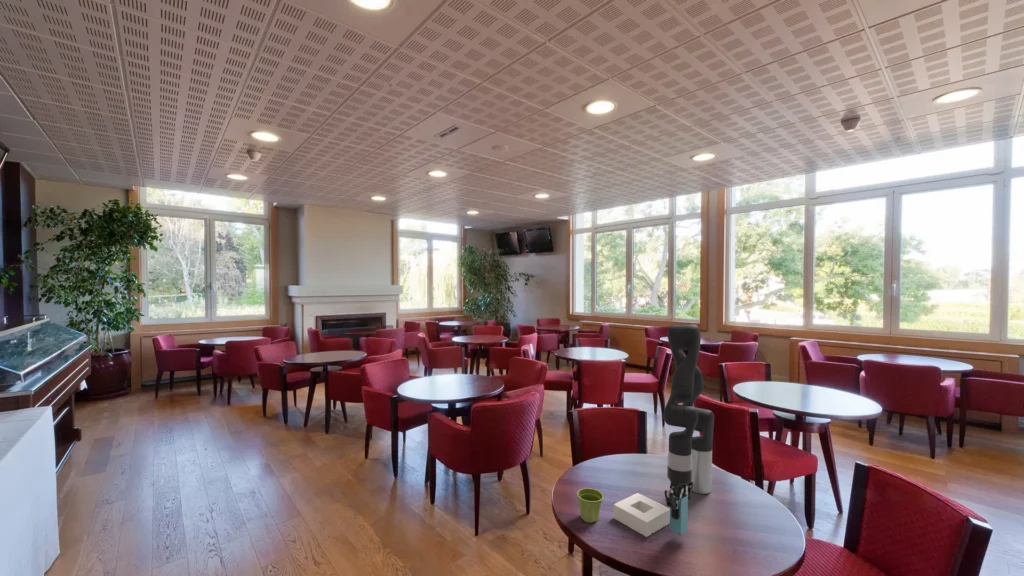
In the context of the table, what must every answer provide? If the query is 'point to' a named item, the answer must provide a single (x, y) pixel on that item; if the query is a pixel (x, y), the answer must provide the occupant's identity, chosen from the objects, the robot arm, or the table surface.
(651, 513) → the well block
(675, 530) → the bracket post
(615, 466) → the table surface
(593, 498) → the plant pot
